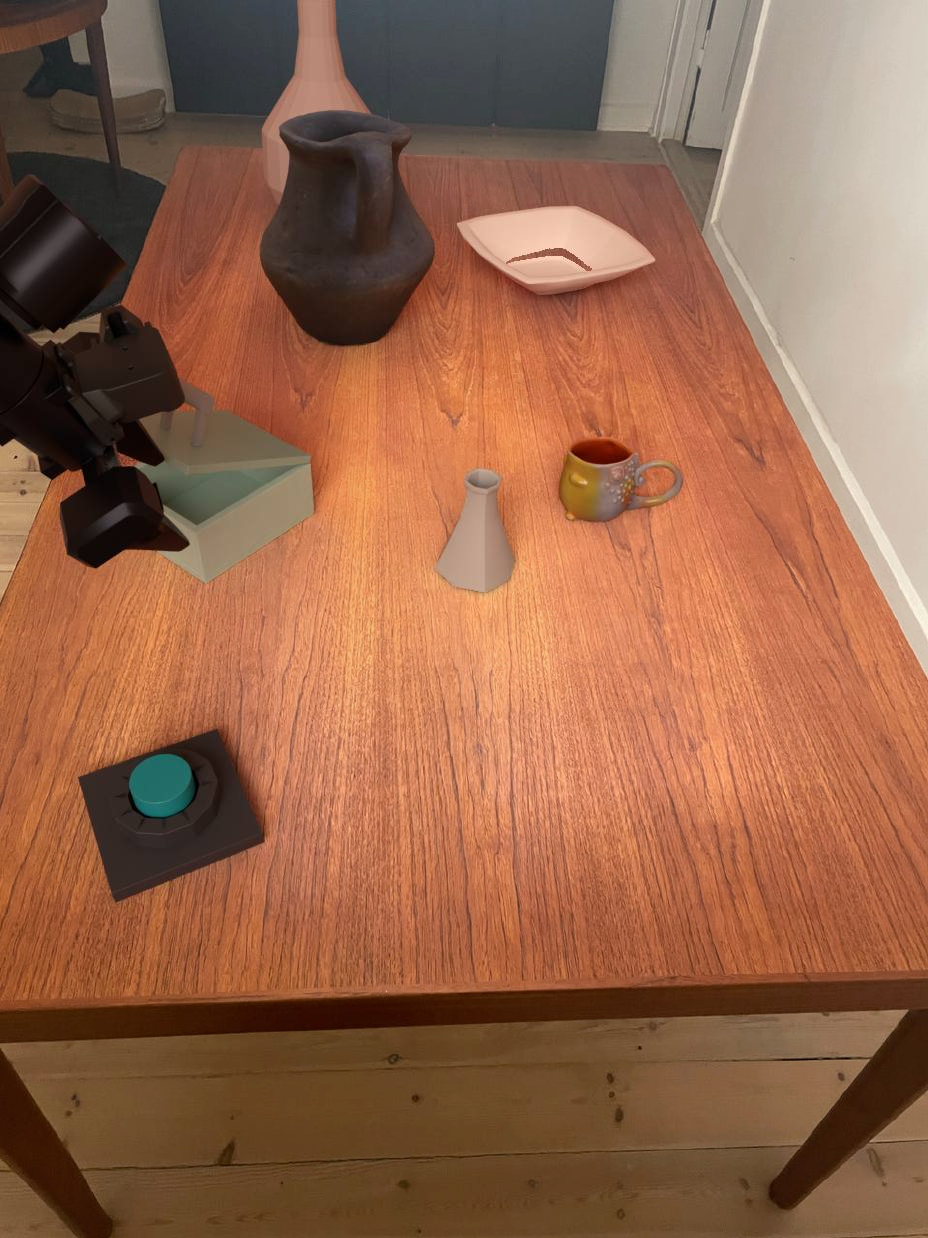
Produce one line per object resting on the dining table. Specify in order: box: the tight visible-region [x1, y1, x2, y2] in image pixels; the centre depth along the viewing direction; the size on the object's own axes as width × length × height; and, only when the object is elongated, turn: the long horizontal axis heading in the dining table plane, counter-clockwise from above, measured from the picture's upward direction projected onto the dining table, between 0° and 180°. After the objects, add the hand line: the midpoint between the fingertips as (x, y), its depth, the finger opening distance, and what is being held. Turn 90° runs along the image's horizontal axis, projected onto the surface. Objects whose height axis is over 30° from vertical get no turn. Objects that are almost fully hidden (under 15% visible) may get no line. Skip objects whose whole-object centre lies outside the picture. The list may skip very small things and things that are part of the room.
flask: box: [434, 467, 516, 594], centre depth 80 cm, size 7×7×10 cm
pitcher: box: [259, 110, 436, 346], centre depth 106 cm, size 21×22×25 cm
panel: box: [77, 728, 265, 903], centre depth 62 cm, size 10×10×3 cm
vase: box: [261, 0, 372, 207], centre depth 128 cm, size 18×18×30 cm
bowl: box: [456, 205, 656, 296], centre depth 126 cm, size 22×23×6 cm
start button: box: [129, 754, 195, 818], centre depth 61 cm, size 4×4×2 cm
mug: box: [558, 436, 684, 523], centre depth 89 cm, size 12×7×7 cm, turn 84°
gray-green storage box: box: [133, 461, 315, 585], centre depth 84 cm, size 14×12×6 cm
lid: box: [139, 377, 312, 475], centre depth 79 cm, size 14×12×5 cm
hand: (172, 502), depth 69 cm, fingers open, 9 cm apart
